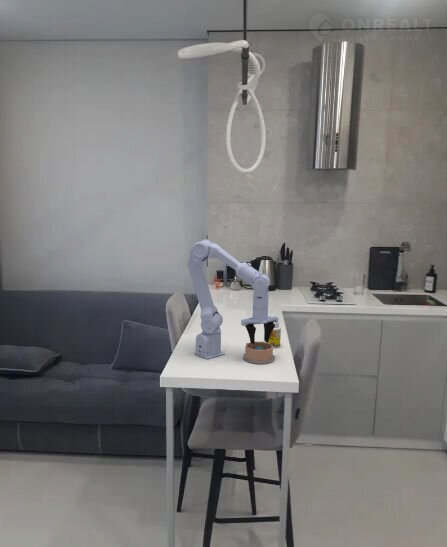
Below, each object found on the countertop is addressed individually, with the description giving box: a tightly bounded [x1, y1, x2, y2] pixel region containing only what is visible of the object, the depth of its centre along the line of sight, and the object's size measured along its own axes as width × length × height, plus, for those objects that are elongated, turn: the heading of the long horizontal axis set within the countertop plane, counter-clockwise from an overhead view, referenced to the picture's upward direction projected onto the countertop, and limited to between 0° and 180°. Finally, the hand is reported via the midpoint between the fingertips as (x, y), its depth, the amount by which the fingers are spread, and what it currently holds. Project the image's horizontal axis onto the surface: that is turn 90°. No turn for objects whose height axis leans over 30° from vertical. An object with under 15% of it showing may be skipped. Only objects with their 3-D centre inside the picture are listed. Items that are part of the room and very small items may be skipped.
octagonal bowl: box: [242, 341, 276, 365], centre depth 173 cm, size 12×12×5 cm
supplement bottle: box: [267, 321, 282, 349], centre depth 187 cm, size 6×6×10 cm
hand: (259, 342), depth 172 cm, fingers open, 5 cm apart
